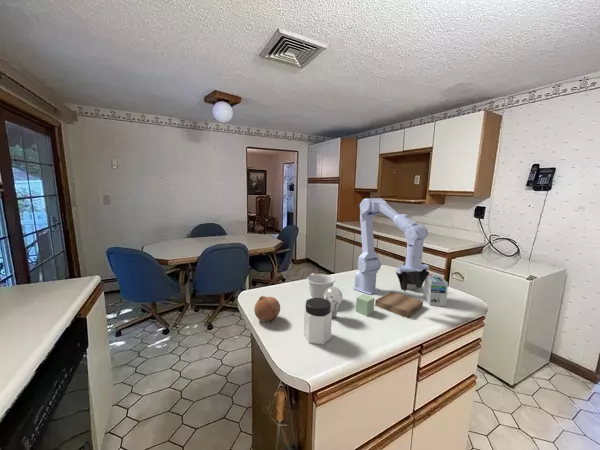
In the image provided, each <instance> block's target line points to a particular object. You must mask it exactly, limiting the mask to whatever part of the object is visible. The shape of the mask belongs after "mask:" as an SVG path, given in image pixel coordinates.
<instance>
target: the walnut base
mask: <svg viewBox="0 0 600 450" xmlns="http://www.w3.org/2000/svg"><path fill="white" fill-rule="evenodd" d="M423 306H424V301H423V300H420V299H417V298H414V297H412V296H411V297H410V296H408V295H404V294H401V293H398V292H395V291H392V290H391V291H389V292H388V293H385V294H384V295H382V296H380V297H379V298H377V299H374V307H377V308H380V309H383V310H385V311H388V312H391V313H393V314H396V315H399V316H401V317H403V318H406V319H409V318H411V316H412V315H414V314H416V313H417V312H418V311H420V310H421V309H422V308H423Z"/></svg>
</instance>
